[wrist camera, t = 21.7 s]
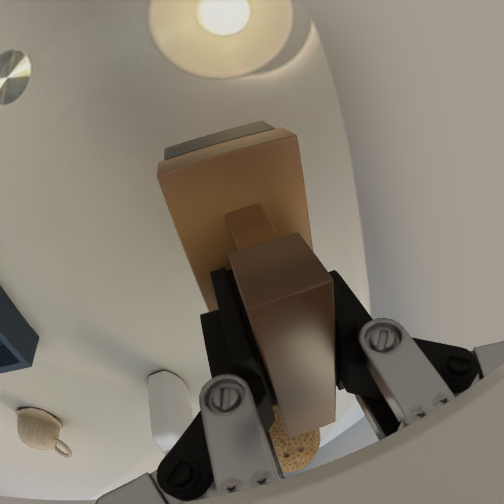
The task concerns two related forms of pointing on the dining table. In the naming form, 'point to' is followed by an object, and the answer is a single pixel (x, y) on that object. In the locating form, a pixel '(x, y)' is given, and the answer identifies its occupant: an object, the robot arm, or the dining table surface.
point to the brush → (260, 256)
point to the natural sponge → (293, 445)
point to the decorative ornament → (40, 430)
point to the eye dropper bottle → (168, 409)
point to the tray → (15, 338)
